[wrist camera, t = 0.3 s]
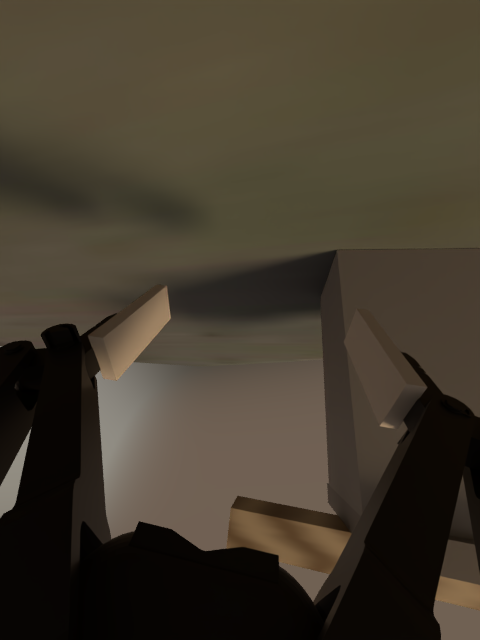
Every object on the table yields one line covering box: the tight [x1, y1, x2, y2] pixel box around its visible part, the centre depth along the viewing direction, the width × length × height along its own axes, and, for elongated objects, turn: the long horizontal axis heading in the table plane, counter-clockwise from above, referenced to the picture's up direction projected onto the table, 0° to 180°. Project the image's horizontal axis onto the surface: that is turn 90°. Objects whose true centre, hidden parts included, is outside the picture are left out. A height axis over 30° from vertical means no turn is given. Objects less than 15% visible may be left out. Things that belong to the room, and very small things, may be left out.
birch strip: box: [226, 496, 480, 610], centre depth 20 cm, size 28×4×3 cm, turn 98°
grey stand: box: [320, 248, 480, 585], centre depth 26 cm, size 18×14×30 cm
